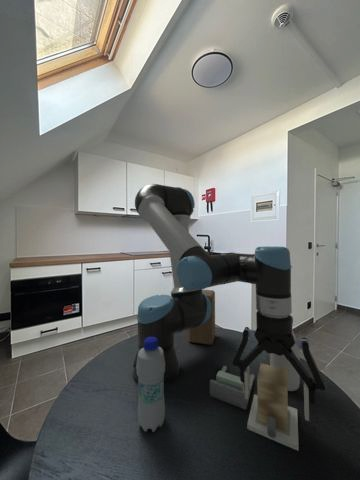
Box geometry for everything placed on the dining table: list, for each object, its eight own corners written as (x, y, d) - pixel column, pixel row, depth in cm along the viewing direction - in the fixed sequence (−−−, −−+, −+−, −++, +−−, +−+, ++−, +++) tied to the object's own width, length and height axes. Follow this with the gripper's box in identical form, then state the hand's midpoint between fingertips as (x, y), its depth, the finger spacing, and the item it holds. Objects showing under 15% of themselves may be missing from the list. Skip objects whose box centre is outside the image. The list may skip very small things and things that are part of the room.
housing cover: (216, 393, 56) (216, 375, 56) (219, 386, 59) (219, 369, 59) (242, 402, 53) (242, 383, 53) (244, 395, 55) (244, 377, 55)
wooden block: (193, 332, 93) (193, 288, 93) (215, 334, 90) (215, 289, 90) (188, 342, 83) (187, 294, 83) (212, 346, 80) (212, 295, 80)
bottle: (170, 416, 49) (170, 334, 49) (156, 441, 43) (155, 348, 43) (147, 406, 52) (146, 329, 52) (130, 429, 46) (129, 341, 46)
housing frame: (209, 396, 55) (209, 381, 55) (223, 368, 67) (223, 356, 66) (246, 410, 51) (245, 394, 50) (254, 378, 62) (254, 365, 62)
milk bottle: (304, 394, 55) (303, 321, 55) (273, 390, 57) (273, 319, 57) (294, 375, 63) (293, 311, 63) (267, 372, 65) (267, 310, 64)
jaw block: (257, 420, 46) (257, 377, 46) (261, 401, 52) (260, 362, 51) (287, 432, 43) (287, 386, 43) (287, 411, 49) (287, 370, 49)
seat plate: (246, 431, 45) (246, 411, 45) (254, 396, 55) (254, 379, 55) (298, 453, 40) (298, 431, 40) (297, 411, 50) (297, 393, 50)
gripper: (218, 309, 50) (220, 397, 50) (341, 329, 38) (344, 443, 38) (226, 301, 56) (228, 378, 56) (334, 315, 45) (336, 412, 45)
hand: (275, 404), depth 47 cm, fingers open, 12 cm apart
